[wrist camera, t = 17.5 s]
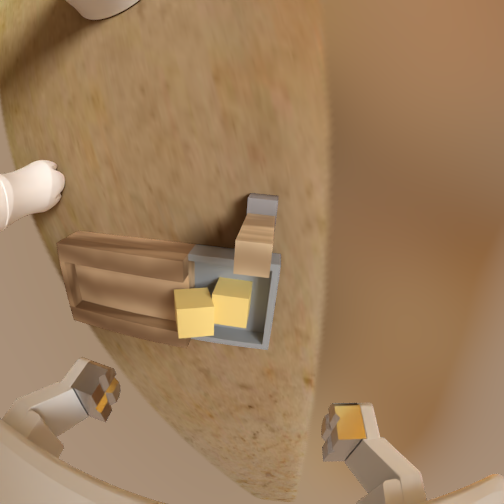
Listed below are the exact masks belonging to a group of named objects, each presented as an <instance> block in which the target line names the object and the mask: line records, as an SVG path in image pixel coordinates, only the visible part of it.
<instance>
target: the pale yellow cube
mask: <svg viewBox="0 0 504 504" xmlns="http://www.w3.org/2000/svg"><path fill="white" fill-rule="evenodd" d="M252 283H253V281H246V280H238V279H230V278H223V277H219V279H218V282H217V284H216V286H215V289H214V291H213V293H212V301H213V304H214V306H215V309H214V324H220V325H226V326H233V327H240V328H246V326H247V321H248V316H249V310H250V302H251V292H252Z"/></svg>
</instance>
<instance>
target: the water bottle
mask: <svg viewBox="0 0 504 504" xmlns="http://www.w3.org/2000/svg"><path fill="white" fill-rule="evenodd" d="M56 169H57V165H56V164H55V163H54V162H51V161H48V160H39V161H35V162H32V163H30V164H29V165H27V166H25V167H23V168H21V169H19V170H16V171H13V172H10V173H5V174H0V232H2V231H3V230H5V228H7V227H8V226H9V225H11V224H12V223H13V222H15V221H17V220H18V219H20V218H22V217H25V216H27V215H30V214H33V213H39V212H45V211H47V210H49V209H51V208H52V207H53V206H55V205H56V204H57V203H58V201H59V200H60V198H61V194H60V192H61V191H62V190H63V188H64V185H65V178H64V175H63V174H62V173H61V172H59V171H56Z"/></svg>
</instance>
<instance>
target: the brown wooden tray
mask: <svg viewBox="0 0 504 504" xmlns="http://www.w3.org/2000/svg"><path fill="white" fill-rule="evenodd" d="M56 244H57V250H58V255H59V261H60V266H61V270H62V275H63V280H64V284H65V288H66V292H67V296H68V300H69V304H70V307H71V311H72V314H73V318H74V320H77V321H80V322H83V323H86V324H89V325H92V326H96V327H99V328H103V329H106V330H110V331H113V332H117V333H121V334H125V335H129V336H133V337H137V338H141V339H145V340H149V341H154V342H158V343H163V344H167V345H172V346H177V347H182V348H187V347H188V344H189V342H190V340H191V338H180V339H179V337H178V331H177V324H176V318H175V303H174V290H175V289H191V288H195V261H188V254H189V252H190V251H191V250H192V249H193V247H194V246H195V245H196V244H190V243H182V242H173V241H165V240H156V239H147V238H139V237H130V236H121V235H113V234H104V233H95V232H87V231H77V232H75V233H73V234H71V235H70V236H68V237H66V238H64V239H63V240H61V241H59V242H58V243H56Z"/></svg>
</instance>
